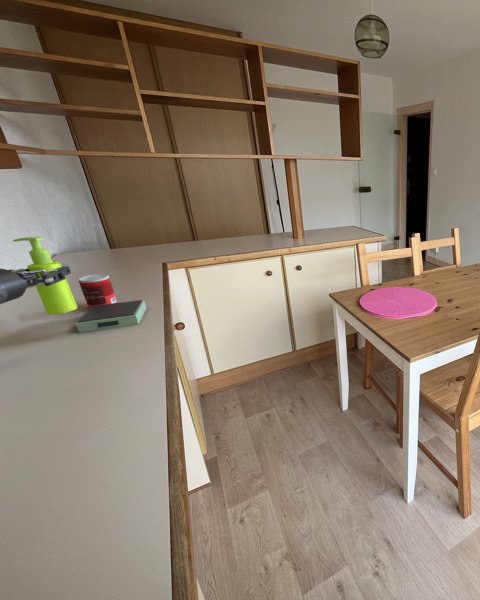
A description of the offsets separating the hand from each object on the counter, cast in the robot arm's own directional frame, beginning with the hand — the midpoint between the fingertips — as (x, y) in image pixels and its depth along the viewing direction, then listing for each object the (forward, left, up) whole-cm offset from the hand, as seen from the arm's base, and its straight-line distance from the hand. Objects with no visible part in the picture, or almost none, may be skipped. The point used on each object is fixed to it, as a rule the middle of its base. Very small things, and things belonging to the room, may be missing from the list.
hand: (54, 269), depth 84 cm
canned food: (0, +22, -20) cm, 30 cm away
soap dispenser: (-1, -2, -11) cm, 11 cm away
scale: (+6, +8, -20) cm, 22 cm away
